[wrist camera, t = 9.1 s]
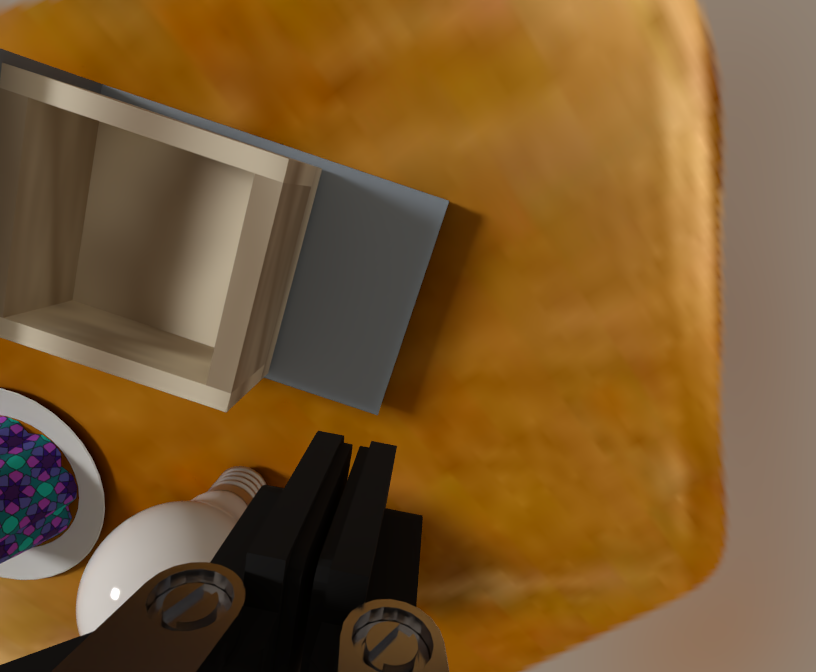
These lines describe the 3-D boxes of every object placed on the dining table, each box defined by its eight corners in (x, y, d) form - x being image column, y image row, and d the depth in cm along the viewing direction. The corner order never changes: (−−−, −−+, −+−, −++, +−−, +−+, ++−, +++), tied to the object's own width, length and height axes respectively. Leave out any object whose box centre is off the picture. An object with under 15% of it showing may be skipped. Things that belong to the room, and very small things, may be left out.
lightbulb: (324, 514, 28) (248, 705, 17) (222, 547, 29) (91, 747, 18) (274, 411, 27) (159, 549, 16) (169, 449, 28) (-5, 603, 17)
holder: (322, 168, 22) (289, 159, 17) (267, 373, 24) (226, 412, 20) (95, 92, 22) (2, 62, 17) (64, 305, 24) (-25, 328, 19)
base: (449, 201, 23) (449, 199, 16) (381, 403, 26) (353, 487, 18) (81, 77, 23) (-102, 13, 15) (51, 293, 26) (-118, 331, 18)
